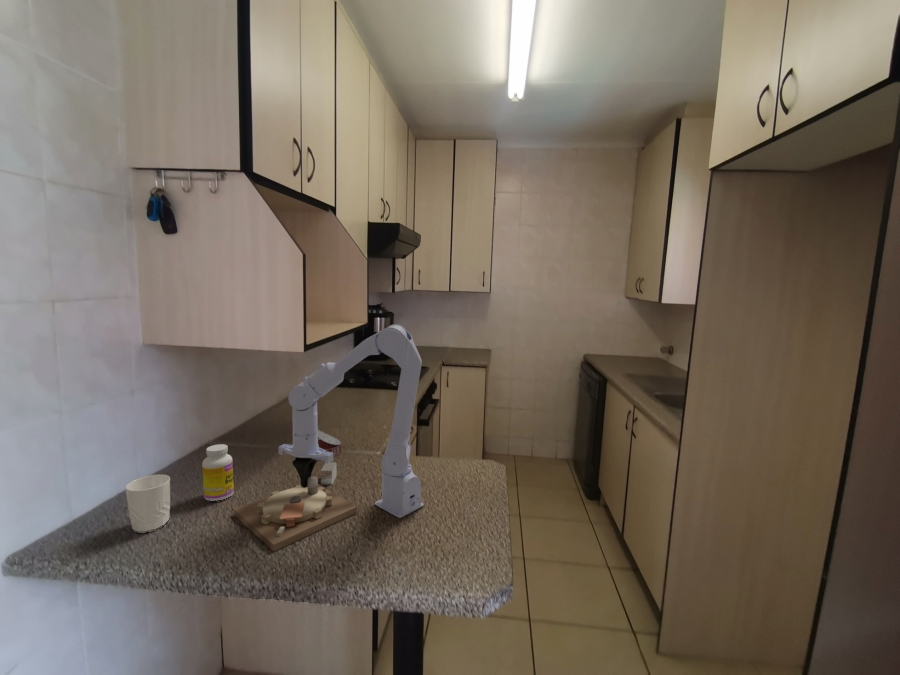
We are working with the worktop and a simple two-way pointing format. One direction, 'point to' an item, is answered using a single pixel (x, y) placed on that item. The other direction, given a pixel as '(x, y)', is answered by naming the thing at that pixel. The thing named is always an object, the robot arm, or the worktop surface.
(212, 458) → the supplement bottle
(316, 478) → the sprocket wheel
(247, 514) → the base board
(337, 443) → the canned food
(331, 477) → the link block
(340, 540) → the worktop surface
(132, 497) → the white cup
